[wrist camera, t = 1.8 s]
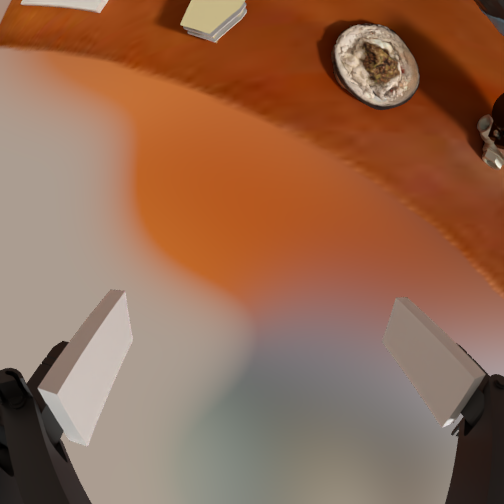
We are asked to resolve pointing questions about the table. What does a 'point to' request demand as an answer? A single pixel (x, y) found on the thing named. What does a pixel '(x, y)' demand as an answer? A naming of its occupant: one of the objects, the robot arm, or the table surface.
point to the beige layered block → (212, 17)
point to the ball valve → (493, 135)
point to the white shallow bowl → (375, 66)
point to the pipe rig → (69, 4)
